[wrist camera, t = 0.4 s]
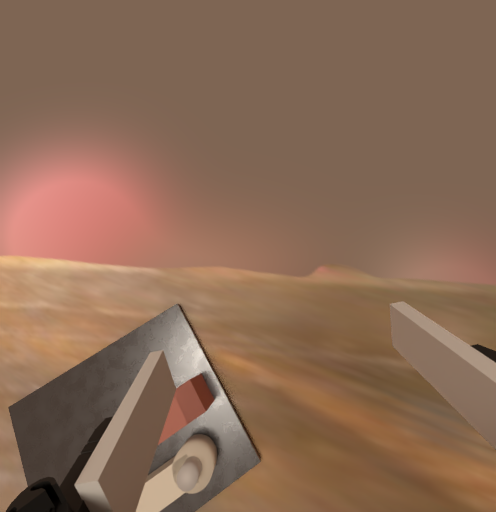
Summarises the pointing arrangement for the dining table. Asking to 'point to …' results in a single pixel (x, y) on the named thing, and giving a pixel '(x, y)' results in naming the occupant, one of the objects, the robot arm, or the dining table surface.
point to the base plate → (111, 396)
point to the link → (180, 474)
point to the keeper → (187, 405)
